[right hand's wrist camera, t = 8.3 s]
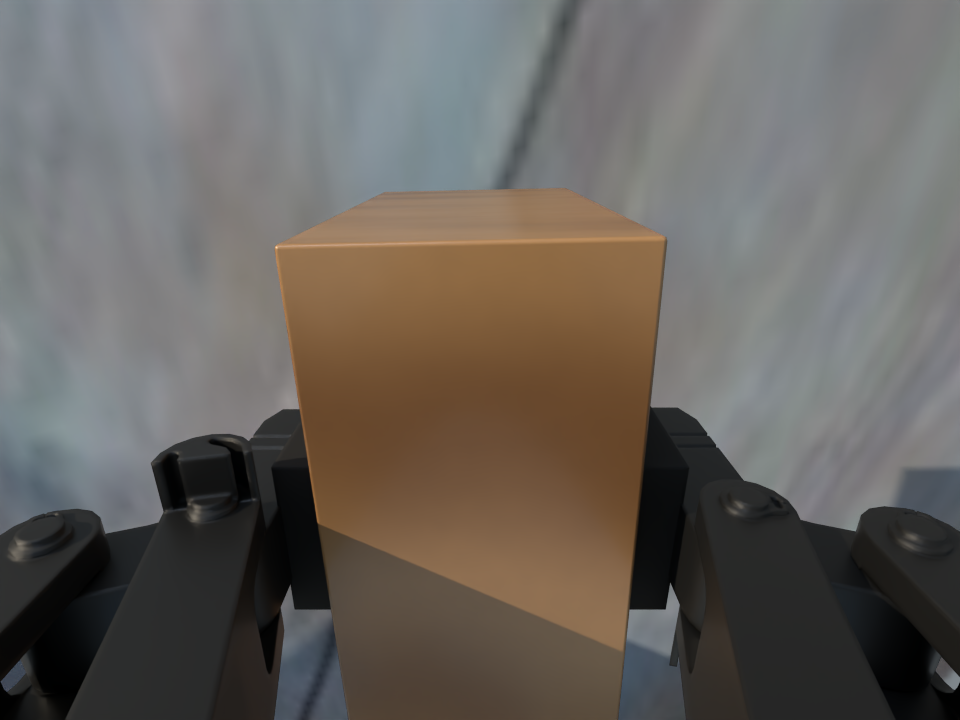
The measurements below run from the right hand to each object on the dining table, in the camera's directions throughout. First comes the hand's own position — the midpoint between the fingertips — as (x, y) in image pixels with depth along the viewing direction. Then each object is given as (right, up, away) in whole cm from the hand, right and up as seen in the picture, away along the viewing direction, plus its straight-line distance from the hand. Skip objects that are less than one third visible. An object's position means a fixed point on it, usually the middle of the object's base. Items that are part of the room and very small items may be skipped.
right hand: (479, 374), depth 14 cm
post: (0, -20, +8) cm, 22 cm away
